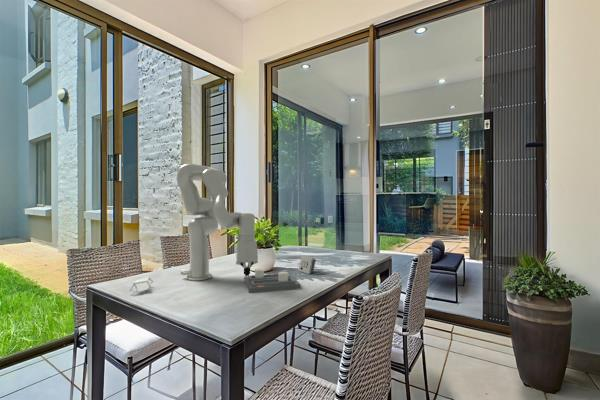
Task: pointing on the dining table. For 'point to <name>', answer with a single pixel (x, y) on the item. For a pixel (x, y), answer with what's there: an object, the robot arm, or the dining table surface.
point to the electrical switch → (306, 264)
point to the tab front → (282, 276)
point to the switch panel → (270, 283)
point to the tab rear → (259, 273)
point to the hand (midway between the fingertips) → (247, 275)
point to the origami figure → (141, 282)
